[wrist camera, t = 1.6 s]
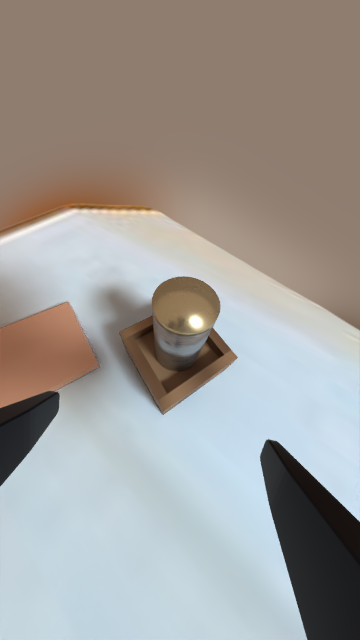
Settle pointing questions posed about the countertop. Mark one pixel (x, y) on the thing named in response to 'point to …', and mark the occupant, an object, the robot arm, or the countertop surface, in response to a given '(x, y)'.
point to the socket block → (171, 384)
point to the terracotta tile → (43, 354)
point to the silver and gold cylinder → (182, 320)
